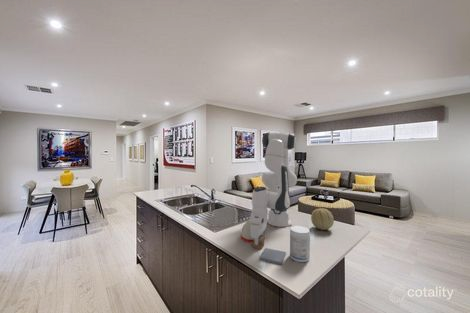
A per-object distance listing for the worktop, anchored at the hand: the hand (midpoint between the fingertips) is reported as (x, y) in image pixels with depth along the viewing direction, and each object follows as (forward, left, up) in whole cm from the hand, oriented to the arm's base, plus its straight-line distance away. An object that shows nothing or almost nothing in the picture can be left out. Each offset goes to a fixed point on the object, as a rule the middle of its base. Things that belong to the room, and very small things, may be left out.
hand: (259, 240), depth 113 cm
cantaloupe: (-45, +32, -4) cm, 55 cm away
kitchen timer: (-11, -8, -4) cm, 13 cm away
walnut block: (-1, -1, -4) cm, 4 cm away
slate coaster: (+7, +9, -3) cm, 13 cm away
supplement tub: (+3, +22, -4) cm, 22 cm away
